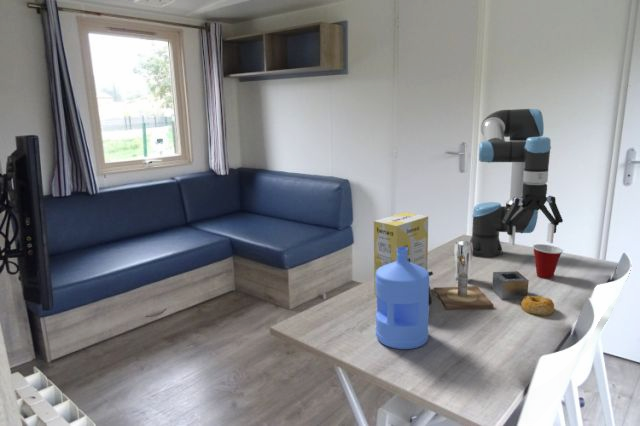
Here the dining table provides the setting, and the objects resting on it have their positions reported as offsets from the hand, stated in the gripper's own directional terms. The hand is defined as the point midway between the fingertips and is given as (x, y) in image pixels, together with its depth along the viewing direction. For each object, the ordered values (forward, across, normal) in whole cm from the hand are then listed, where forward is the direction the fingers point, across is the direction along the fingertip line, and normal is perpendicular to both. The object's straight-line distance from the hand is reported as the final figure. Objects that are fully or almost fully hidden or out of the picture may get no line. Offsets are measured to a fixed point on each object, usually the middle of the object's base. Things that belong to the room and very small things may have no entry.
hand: (530, 243), depth 156 cm
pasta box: (+20, -44, +10) cm, 49 cm away
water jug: (+20, -51, -25) cm, 60 cm away
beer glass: (+20, -17, +18) cm, 32 cm away
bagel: (+20, -2, -12) cm, 23 cm away
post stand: (+20, -24, -1) cm, 31 cm away
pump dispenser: (+20, -42, -9) cm, 48 cm away
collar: (+20, -6, +1) cm, 20 cm away
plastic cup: (+20, +16, +16) cm, 30 cm away
